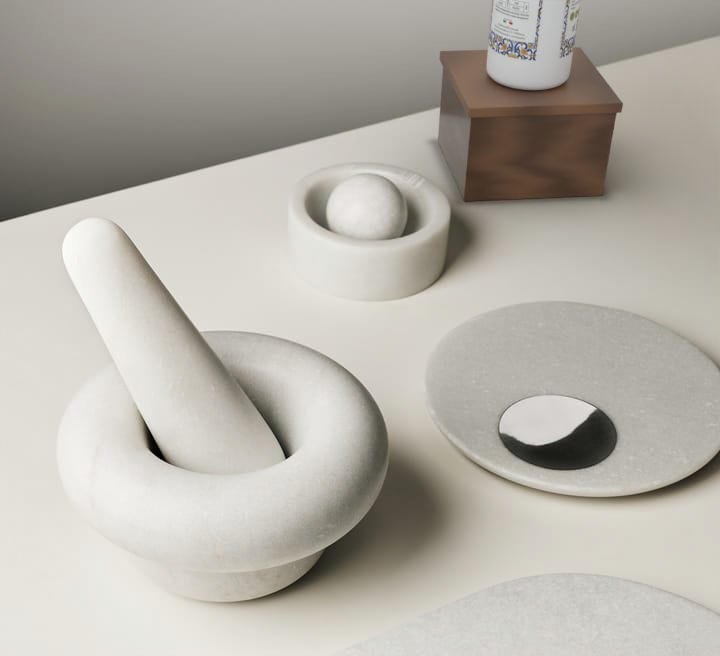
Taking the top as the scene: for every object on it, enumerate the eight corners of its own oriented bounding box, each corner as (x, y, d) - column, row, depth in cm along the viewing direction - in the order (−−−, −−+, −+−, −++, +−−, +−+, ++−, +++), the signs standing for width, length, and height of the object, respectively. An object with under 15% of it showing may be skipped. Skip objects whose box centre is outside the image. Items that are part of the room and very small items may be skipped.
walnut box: (567, 135, 106) (580, 46, 101) (606, 197, 97) (623, 103, 92) (433, 140, 105) (439, 50, 100) (460, 203, 96) (469, 108, 90)
